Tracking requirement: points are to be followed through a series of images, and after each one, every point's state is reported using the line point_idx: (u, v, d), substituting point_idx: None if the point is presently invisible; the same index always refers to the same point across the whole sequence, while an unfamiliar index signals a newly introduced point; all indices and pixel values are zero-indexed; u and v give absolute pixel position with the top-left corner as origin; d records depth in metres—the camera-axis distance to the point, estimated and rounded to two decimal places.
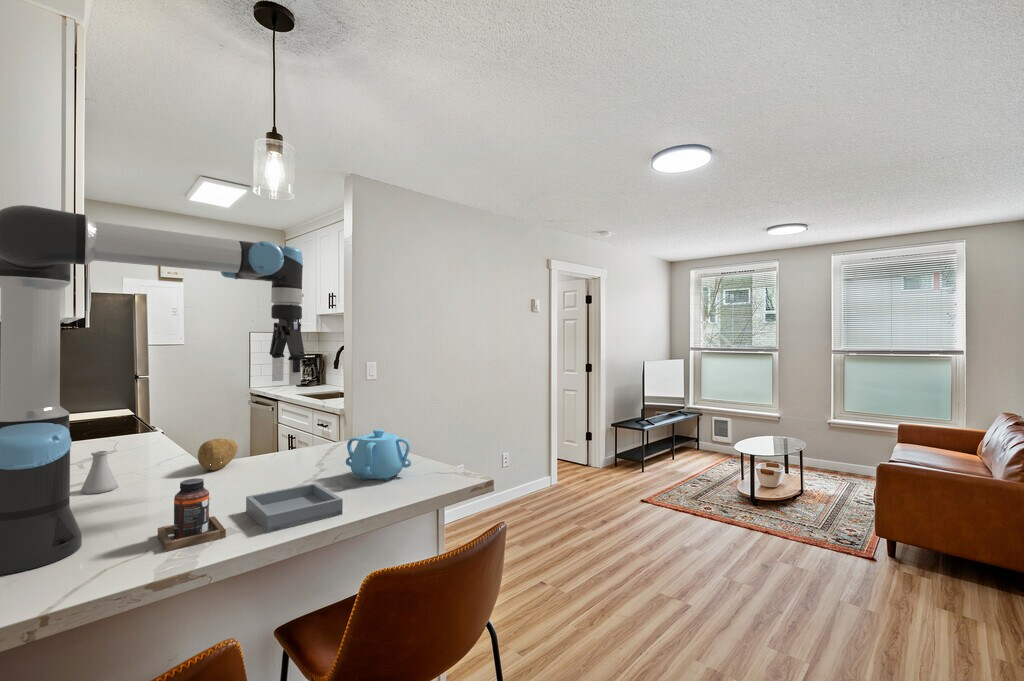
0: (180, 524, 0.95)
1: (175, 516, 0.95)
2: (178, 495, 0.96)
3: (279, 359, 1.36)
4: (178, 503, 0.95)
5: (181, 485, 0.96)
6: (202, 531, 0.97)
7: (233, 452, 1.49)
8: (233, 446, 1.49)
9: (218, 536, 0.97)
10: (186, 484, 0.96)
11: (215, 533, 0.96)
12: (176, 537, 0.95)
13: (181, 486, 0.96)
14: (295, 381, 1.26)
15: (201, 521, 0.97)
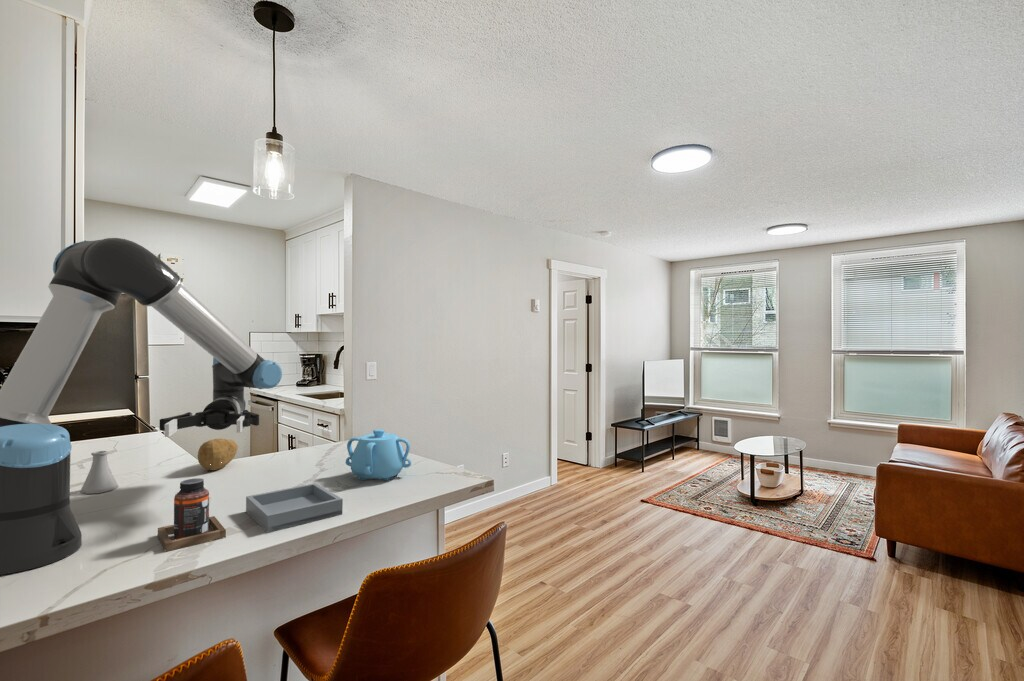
0: (180, 524, 0.95)
1: (175, 516, 0.95)
2: (178, 495, 0.96)
3: (176, 426, 1.10)
4: (178, 503, 0.95)
5: (181, 485, 0.96)
6: (202, 531, 0.97)
7: (233, 452, 1.49)
8: (233, 446, 1.49)
9: (218, 536, 0.97)
10: (186, 484, 0.96)
11: (215, 533, 0.96)
12: (176, 537, 0.95)
13: (181, 486, 0.96)
14: (240, 425, 1.10)
15: (201, 521, 0.97)
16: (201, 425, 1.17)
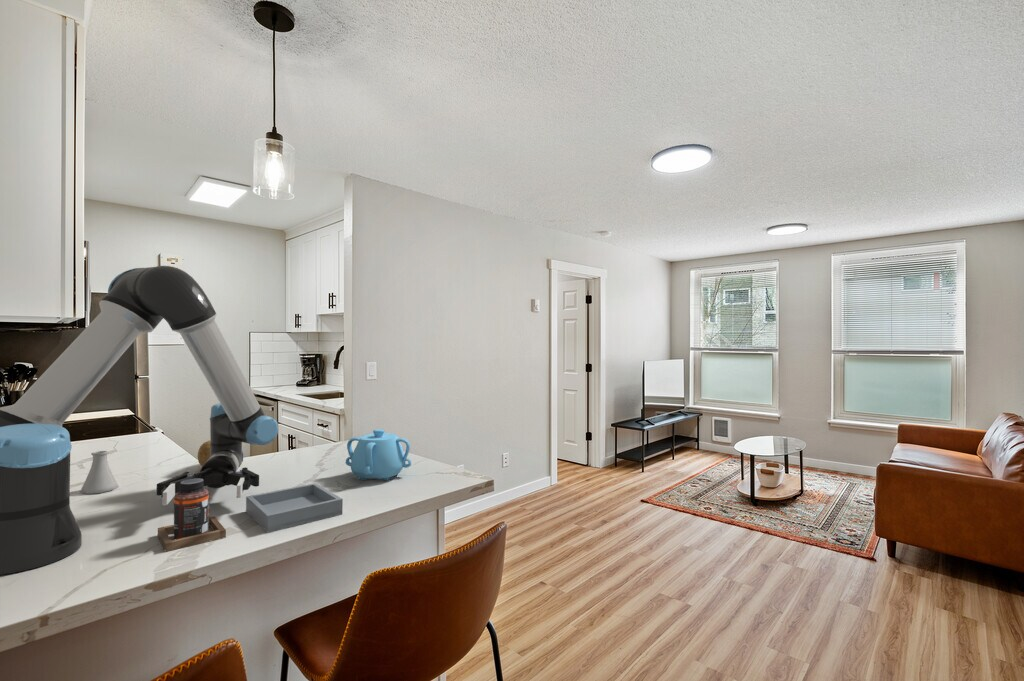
0: (180, 524, 0.95)
1: (175, 516, 0.95)
2: (178, 495, 0.96)
3: (174, 491, 1.07)
4: (178, 503, 0.95)
5: (181, 485, 0.96)
6: (202, 531, 0.97)
7: None
8: None
9: (218, 536, 0.97)
10: (186, 484, 0.96)
11: (215, 533, 0.96)
12: (176, 537, 0.95)
13: (181, 486, 0.96)
14: (241, 490, 1.08)
15: (201, 521, 0.97)
16: None
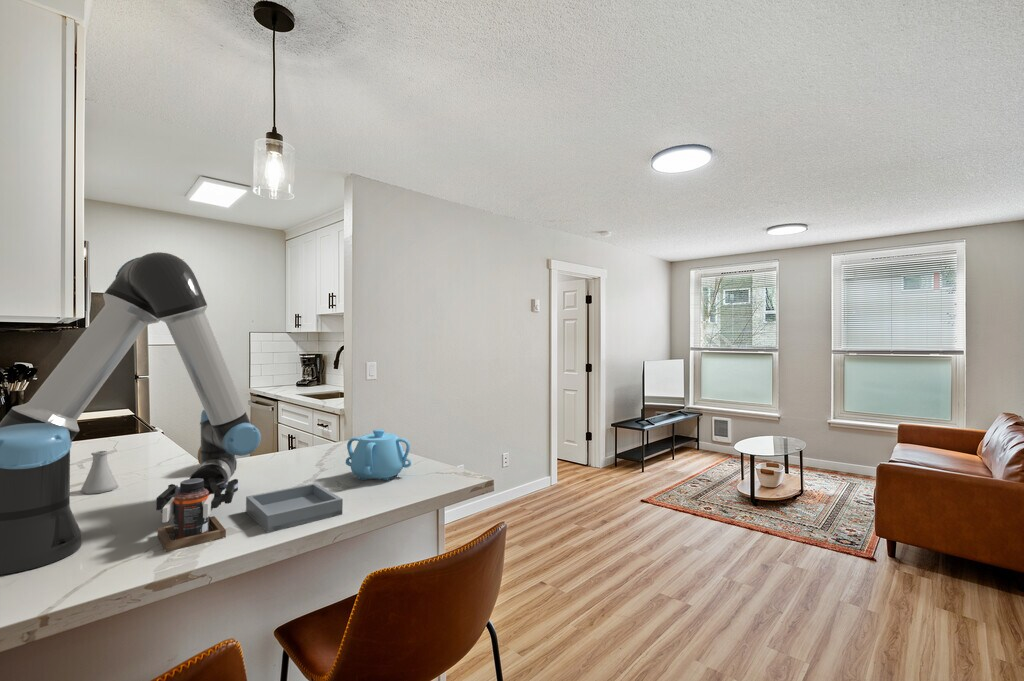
0: (180, 524, 0.95)
1: (175, 516, 0.95)
2: (178, 495, 0.96)
3: None
4: (178, 503, 0.95)
5: (181, 485, 0.96)
6: (202, 531, 0.97)
7: None
8: None
9: (218, 536, 0.97)
10: (186, 484, 0.96)
11: (215, 533, 0.96)
12: (176, 537, 0.95)
13: (181, 486, 0.96)
14: (208, 509, 0.95)
15: (201, 521, 0.97)
16: None
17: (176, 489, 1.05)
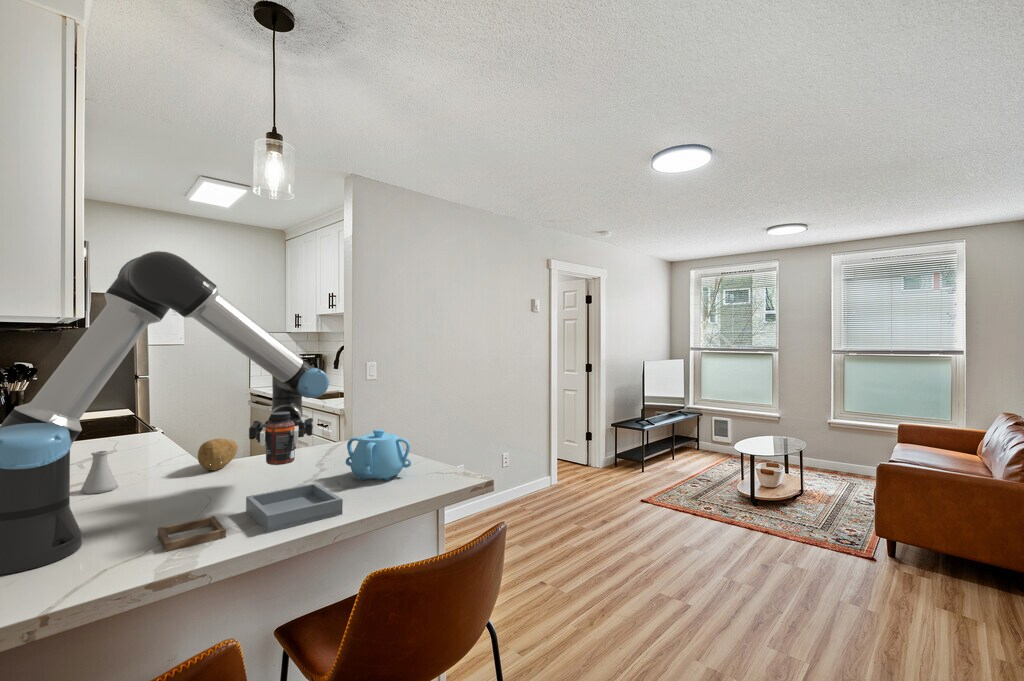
0: (273, 449, 1.07)
1: (268, 443, 1.07)
2: (270, 424, 1.07)
3: None
4: (270, 431, 1.07)
5: (272, 415, 1.08)
6: (290, 457, 1.09)
7: (233, 452, 1.49)
8: (233, 446, 1.49)
9: (218, 536, 0.97)
10: (277, 414, 1.08)
11: (215, 533, 0.96)
12: (269, 461, 1.07)
13: (272, 416, 1.08)
14: (297, 436, 1.07)
15: (290, 448, 1.08)
16: None
17: (260, 425, 1.17)
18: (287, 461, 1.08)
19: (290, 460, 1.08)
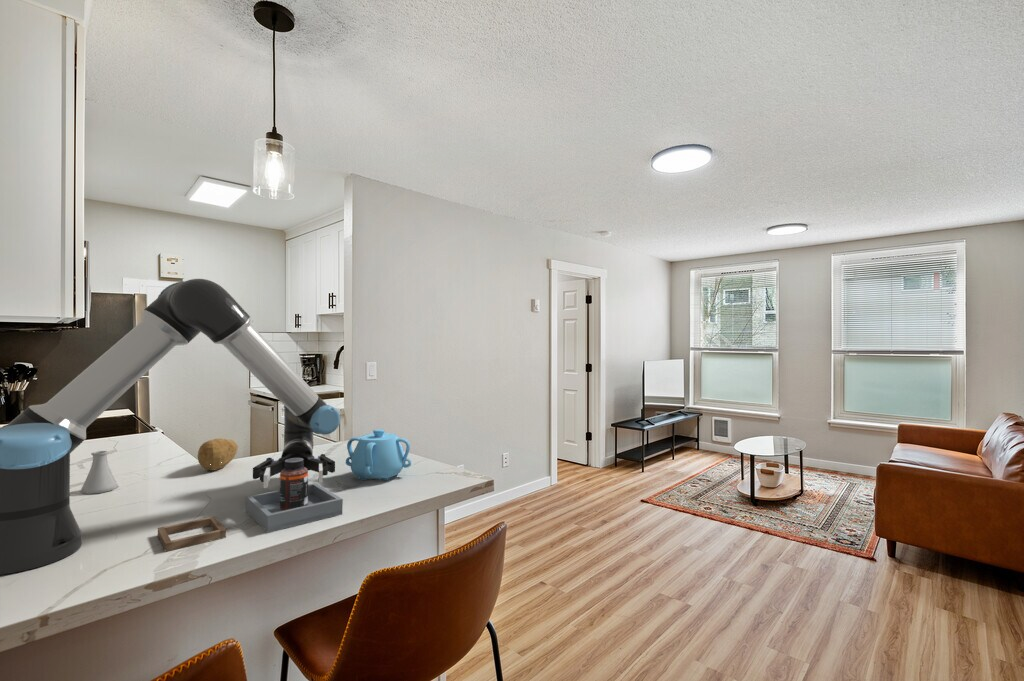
0: (287, 497, 1.09)
1: (282, 490, 1.09)
2: (284, 472, 1.09)
3: None
4: (284, 479, 1.09)
5: (286, 463, 1.10)
6: (304, 503, 1.11)
7: (233, 452, 1.49)
8: (233, 446, 1.49)
9: (218, 536, 0.97)
10: (291, 462, 1.10)
11: (215, 533, 0.96)
12: (283, 508, 1.09)
13: (286, 464, 1.10)
14: (322, 475, 1.11)
15: (303, 495, 1.10)
16: None
17: (272, 462, 1.19)
18: None
19: None
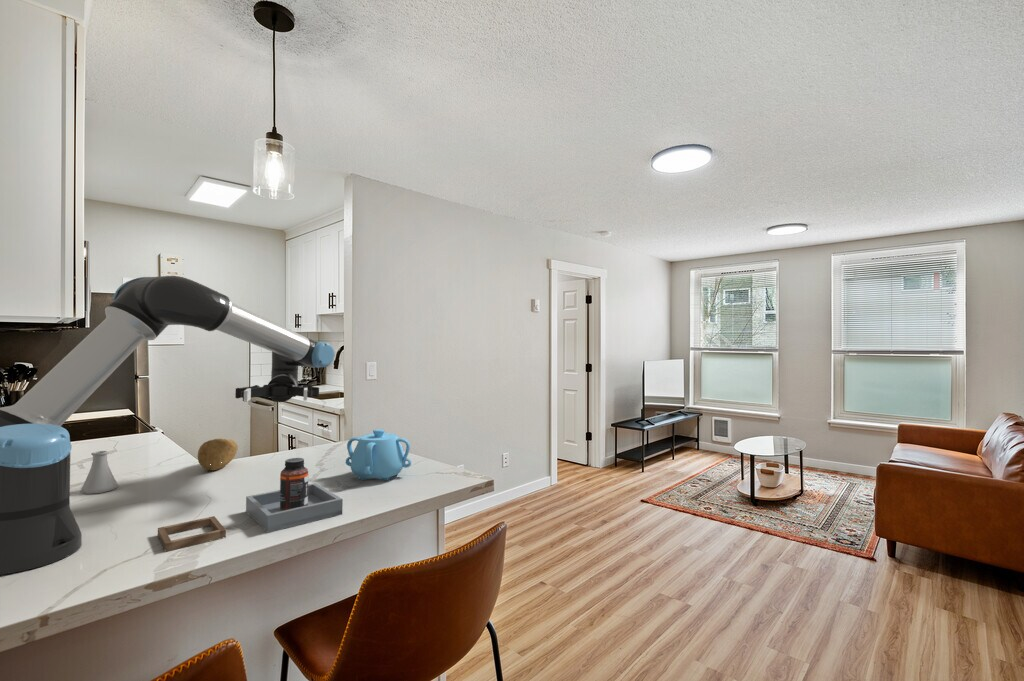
0: (287, 496, 1.09)
1: (282, 490, 1.09)
2: (284, 472, 1.09)
3: (250, 394, 1.26)
4: (285, 479, 1.09)
5: (287, 463, 1.10)
6: (304, 503, 1.11)
7: (233, 452, 1.49)
8: (233, 446, 1.49)
9: (218, 536, 0.97)
10: (291, 462, 1.10)
11: (215, 533, 0.96)
12: (283, 508, 1.09)
13: (287, 464, 1.10)
14: (306, 394, 1.26)
15: (304, 495, 1.10)
16: (268, 396, 1.33)
17: None
18: None
19: None
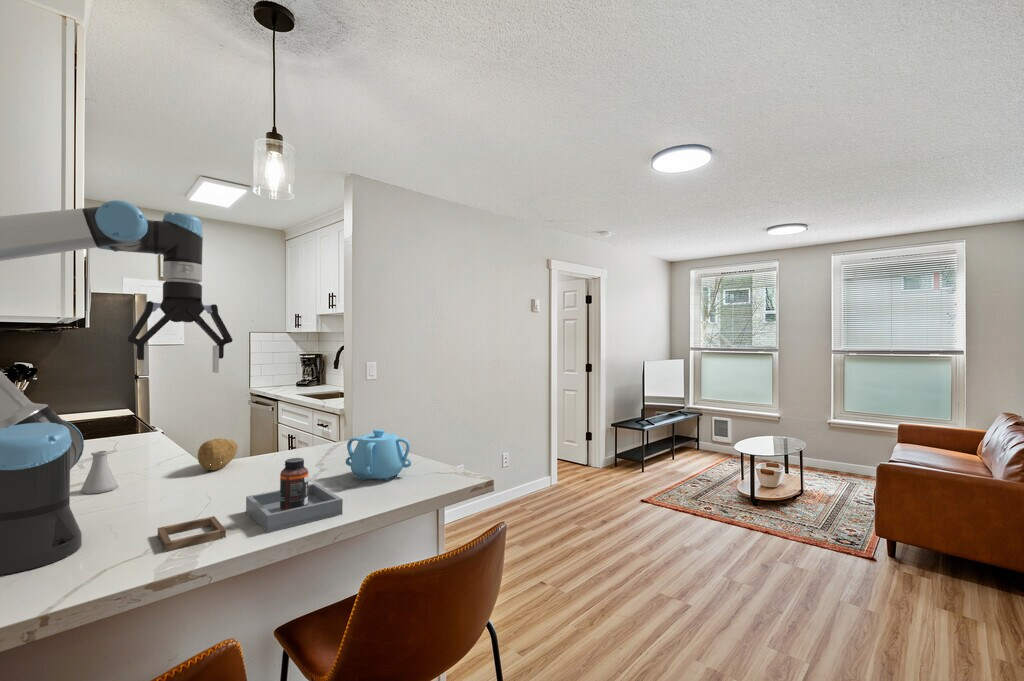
0: (287, 497, 1.09)
1: (282, 490, 1.09)
2: (284, 472, 1.09)
3: (214, 347, 1.16)
4: (285, 479, 1.09)
5: (286, 463, 1.10)
6: (304, 503, 1.11)
7: (233, 452, 1.49)
8: (233, 446, 1.49)
9: (218, 536, 0.97)
10: (291, 462, 1.10)
11: (215, 533, 0.96)
12: (283, 508, 1.09)
13: (286, 464, 1.10)
14: (143, 370, 1.07)
15: (304, 495, 1.10)
16: (197, 321, 1.13)
17: None
18: None
19: None
